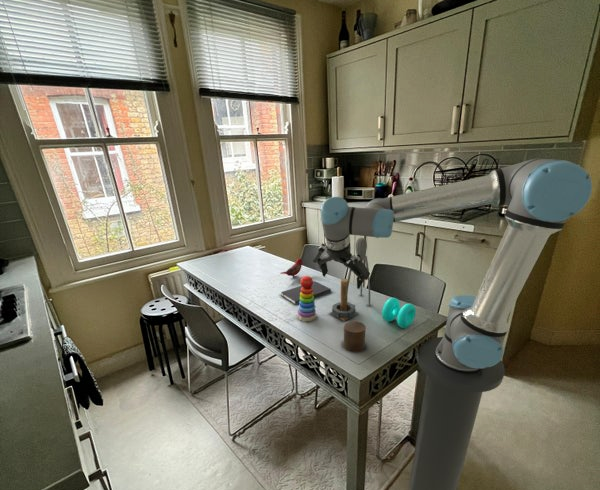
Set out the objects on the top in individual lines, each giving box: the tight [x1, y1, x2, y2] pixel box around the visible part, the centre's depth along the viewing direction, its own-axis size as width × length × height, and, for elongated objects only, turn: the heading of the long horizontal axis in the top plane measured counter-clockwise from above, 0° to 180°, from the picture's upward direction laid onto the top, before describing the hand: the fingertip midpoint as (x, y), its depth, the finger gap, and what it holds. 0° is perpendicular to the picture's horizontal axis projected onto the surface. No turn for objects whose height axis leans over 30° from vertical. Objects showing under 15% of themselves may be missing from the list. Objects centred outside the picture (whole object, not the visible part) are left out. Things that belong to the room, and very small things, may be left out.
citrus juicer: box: [347, 237, 371, 307], centre depth 138 cm, size 11×10×30 cm
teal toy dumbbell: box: [381, 297, 417, 329], centre depth 125 cm, size 10×10×10 cm
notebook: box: [280, 280, 331, 305], centre depth 155 cm, size 13×2×21 cm
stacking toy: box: [297, 275, 317, 322], centre depth 130 cm, size 8×8×19 cm
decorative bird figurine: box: [280, 257, 304, 279], centre depth 171 cm, size 3×18×10 cm, turn 136°
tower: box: [330, 278, 358, 322], centre depth 132 cm, size 8×8×16 cm
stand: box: [343, 320, 367, 353], centre depth 113 cm, size 8×8×8 cm
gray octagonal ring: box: [331, 301, 356, 319], centre depth 134 cm, size 10×10×2 cm
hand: (342, 279), depth 114 cm, fingers open, 13 cm apart
